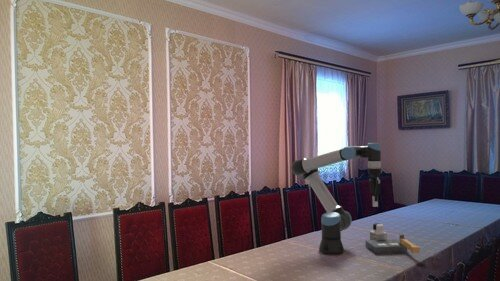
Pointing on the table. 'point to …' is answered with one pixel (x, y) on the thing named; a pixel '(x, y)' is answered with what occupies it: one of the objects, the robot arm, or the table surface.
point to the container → (378, 232)
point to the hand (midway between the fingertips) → (375, 206)
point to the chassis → (385, 246)
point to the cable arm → (409, 244)
